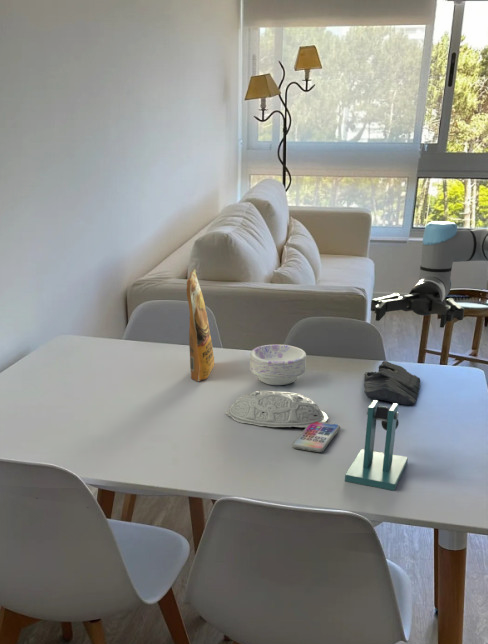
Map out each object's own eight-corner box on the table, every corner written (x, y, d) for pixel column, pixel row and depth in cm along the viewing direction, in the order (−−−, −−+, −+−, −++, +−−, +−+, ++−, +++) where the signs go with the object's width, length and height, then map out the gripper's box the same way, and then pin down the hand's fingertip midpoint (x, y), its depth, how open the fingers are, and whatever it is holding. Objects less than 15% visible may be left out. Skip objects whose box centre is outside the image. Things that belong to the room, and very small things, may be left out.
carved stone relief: (321, 430, 161) (321, 402, 159) (217, 424, 168) (216, 396, 166) (333, 412, 175) (333, 386, 173) (237, 407, 182) (236, 382, 180)
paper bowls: (275, 393, 185) (276, 365, 182) (238, 378, 196) (238, 350, 192) (316, 381, 194) (318, 353, 190) (279, 367, 204) (280, 340, 201)
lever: (381, 431, 152) (384, 414, 152) (397, 433, 151) (401, 417, 151) (370, 420, 139) (374, 402, 139) (388, 423, 137) (392, 405, 138)
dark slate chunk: (354, 401, 180) (356, 384, 178) (365, 373, 199) (367, 357, 197) (416, 408, 176) (418, 390, 174) (421, 379, 195) (423, 363, 193)
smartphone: (290, 444, 155) (311, 419, 167) (290, 448, 155) (311, 423, 167) (322, 449, 152) (341, 424, 164) (322, 454, 152) (341, 428, 165)
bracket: (360, 455, 152) (366, 390, 146) (407, 463, 149) (415, 398, 142) (344, 481, 141) (350, 413, 135) (394, 490, 138) (402, 421, 132)
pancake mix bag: (181, 383, 192) (178, 279, 180) (195, 361, 209) (193, 265, 197) (205, 384, 191) (203, 280, 179) (217, 362, 208) (216, 266, 196)
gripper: (479, 317, 164) (467, 341, 147) (373, 307, 173) (350, 328, 156) (483, 285, 161) (473, 306, 143) (375, 276, 170) (353, 294, 152)
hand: (409, 317), depth 149 cm, fingers open, 13 cm apart
